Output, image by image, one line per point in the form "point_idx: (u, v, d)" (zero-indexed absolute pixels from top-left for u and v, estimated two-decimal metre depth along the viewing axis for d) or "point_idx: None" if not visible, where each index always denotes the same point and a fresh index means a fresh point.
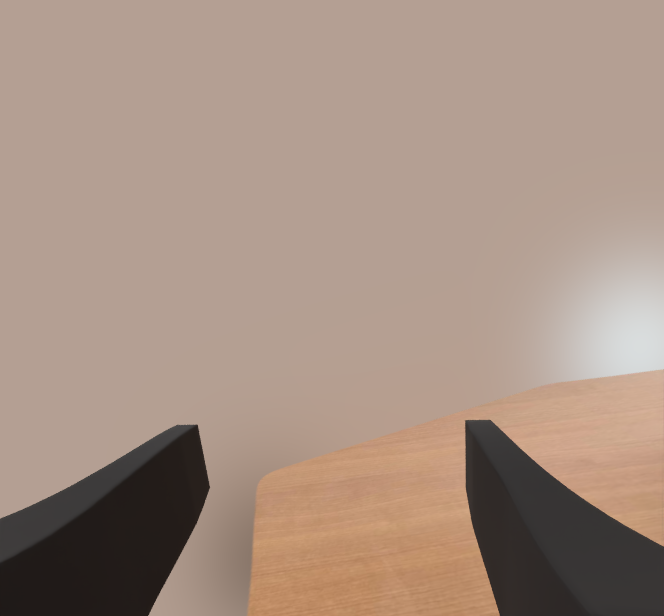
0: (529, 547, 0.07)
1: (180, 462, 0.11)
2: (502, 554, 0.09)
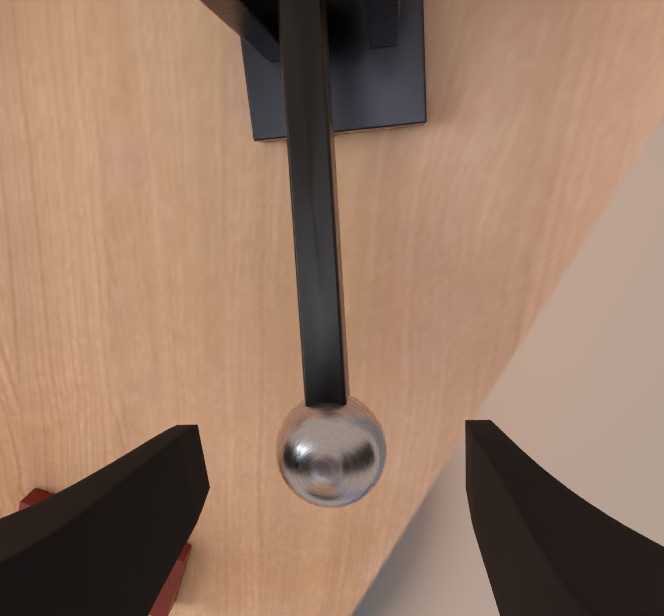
0: (529, 547, 0.07)
1: (180, 462, 0.11)
2: (502, 554, 0.09)
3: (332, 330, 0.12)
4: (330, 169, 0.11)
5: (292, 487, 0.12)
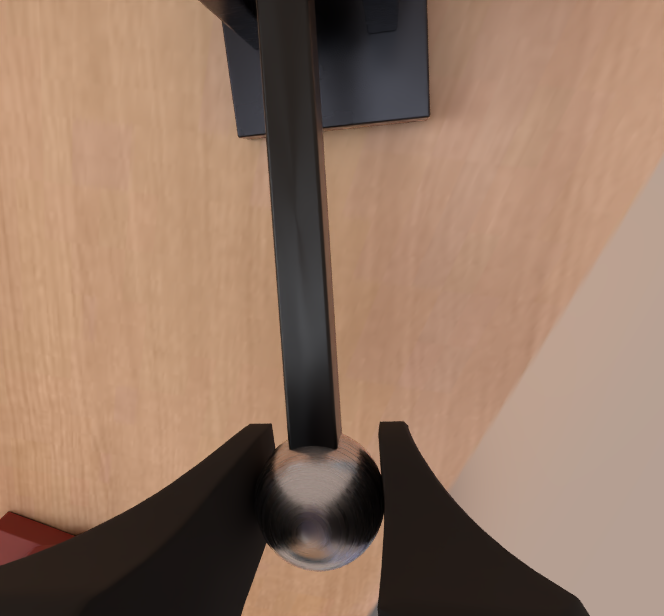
0: None
1: (260, 461, 0.11)
2: None
3: (320, 360, 0.10)
4: (317, 169, 0.09)
5: (273, 548, 0.10)
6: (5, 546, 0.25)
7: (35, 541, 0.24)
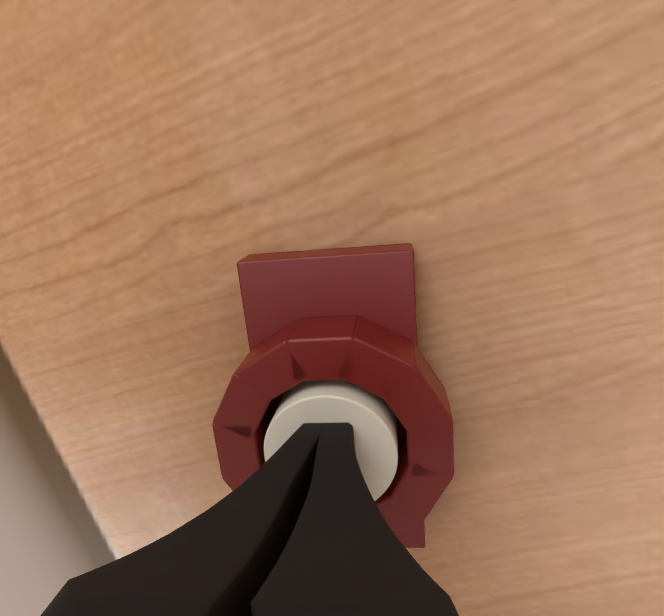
0: None
1: None
2: None
3: None
4: None
5: None
6: (377, 285, 0.13)
7: (415, 333, 0.13)
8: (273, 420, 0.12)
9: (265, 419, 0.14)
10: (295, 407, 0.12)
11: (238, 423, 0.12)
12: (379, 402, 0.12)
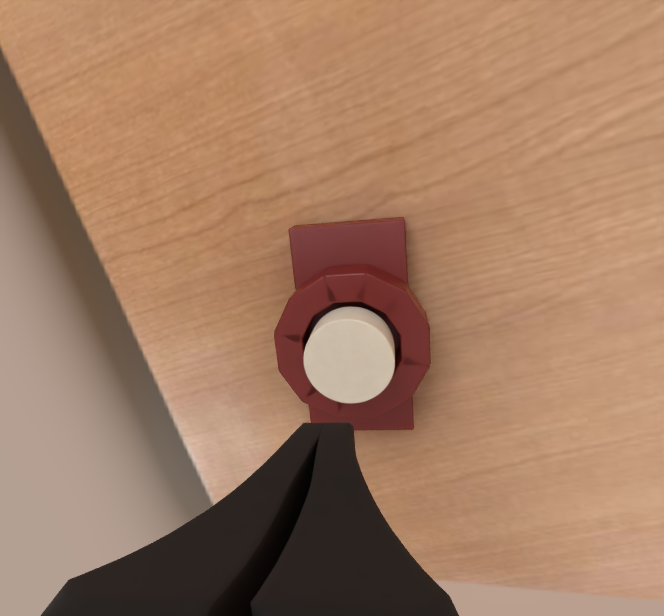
0: None
1: None
2: None
3: None
4: None
5: None
6: (381, 243, 0.19)
7: (406, 276, 0.20)
8: (310, 337, 0.18)
9: (306, 334, 0.20)
10: (326, 327, 0.17)
11: (291, 332, 0.19)
12: (382, 326, 0.18)
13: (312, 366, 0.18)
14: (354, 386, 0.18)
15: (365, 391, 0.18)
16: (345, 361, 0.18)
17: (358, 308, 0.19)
